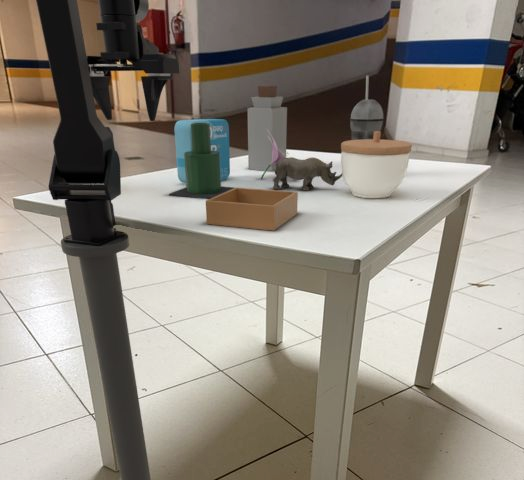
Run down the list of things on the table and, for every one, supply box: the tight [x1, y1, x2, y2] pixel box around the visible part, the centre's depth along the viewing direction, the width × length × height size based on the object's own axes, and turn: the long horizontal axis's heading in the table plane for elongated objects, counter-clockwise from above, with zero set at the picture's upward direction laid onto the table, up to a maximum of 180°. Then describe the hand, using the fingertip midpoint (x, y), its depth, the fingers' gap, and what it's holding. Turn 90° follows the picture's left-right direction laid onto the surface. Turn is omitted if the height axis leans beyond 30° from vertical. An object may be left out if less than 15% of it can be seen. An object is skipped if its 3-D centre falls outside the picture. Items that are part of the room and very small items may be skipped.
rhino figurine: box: [272, 156, 343, 191], centre depth 98 cm, size 4×14×6 cm, turn 81°
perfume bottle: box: [247, 85, 288, 172], centre depth 118 cm, size 7×7×18 cm
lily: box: [260, 128, 289, 180], centre depth 108 cm, size 12×12×10 cm
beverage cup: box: [349, 75, 384, 140], centre depth 109 cm, size 7×7×20 cm
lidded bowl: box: [340, 131, 413, 199], centre depth 92 cm, size 13×13×11 cm
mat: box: [168, 186, 234, 200], centre depth 97 cm, size 10×10×1 cm
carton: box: [205, 187, 299, 232], centre depth 78 cm, size 11×11×4 cm
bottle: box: [184, 123, 222, 194], centre depth 94 cm, size 7×7×12 cm
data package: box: [174, 118, 231, 184], centre depth 104 cm, size 12×4×12 cm, turn 144°
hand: (130, 120), depth 89 cm, fingers open, 9 cm apart
